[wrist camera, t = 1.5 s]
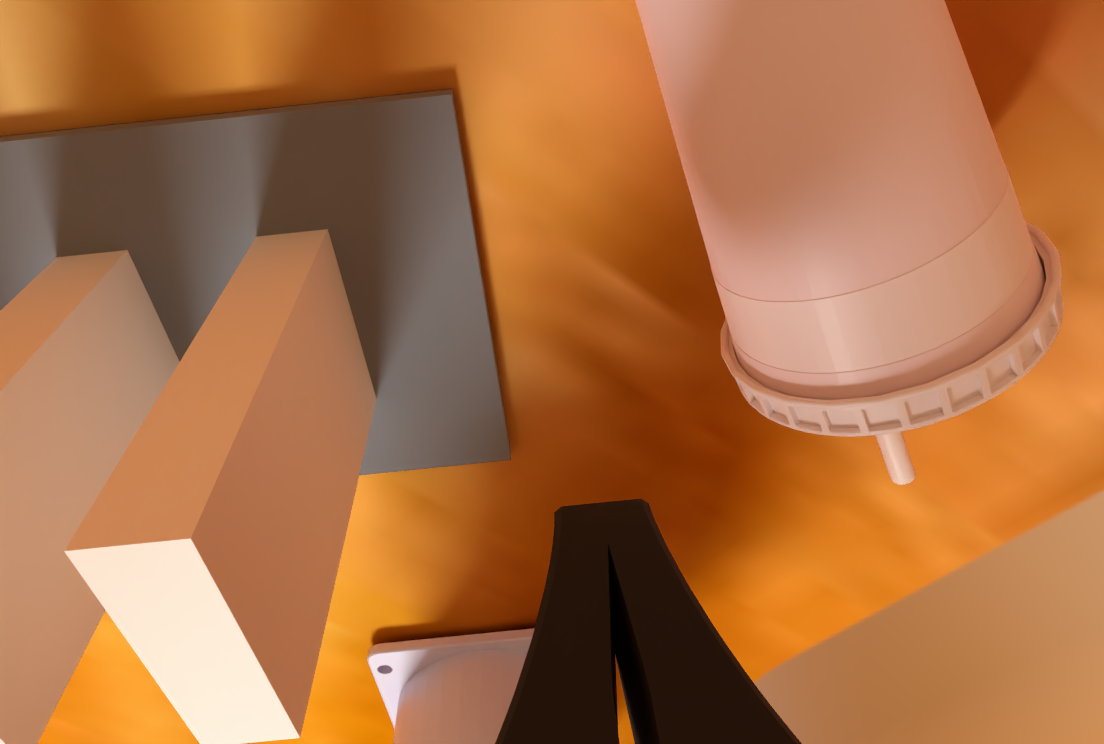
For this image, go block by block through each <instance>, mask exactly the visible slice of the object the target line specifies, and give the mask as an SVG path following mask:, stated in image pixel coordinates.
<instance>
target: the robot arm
mask: <svg viewBox="0 0 1104 744" xmlns="http://www.w3.org/2000/svg"><path fill="white" fill-rule="evenodd" d="M615 655H616V659H617V664H618V669H619V673H620V678H621V682H622V687H623V691H624V696H625V701H626V705H627V710H628V714H629V719H630V723H631V728H632V732H633V737H634V741H635V744H801V742H799V740H798V739H797V738H796V736H795V735H794V734H793V733H792V731H791V730H790V729H789V728H788V726H787V725H786V724H785V723H784V722H783V720H782V719H781V718H780V717H779V715H778V714H777V713H776V712H775V710H774V709H773V708H772V707H771V706H770V704H769V703H768V701H767V700H766V699H765V698H764V697H763V695H762V694H761V692H760V691H759V690H758V688H757V687H756V686H755V684H754V683H753V682H752V680H751V679H750V677H749V676H748V675H747V673H746V672H745V671H744V669H743V668H742V666H741V665H740V664H739V662H738V661H737V659H736V658H735V656H734V655H733V654H732V652H731V651H730V649H729V648H728V647H727V645H726V644H725V642H724V641H723V639H722V638H721V636H720V635H719V633H718V632H717V630H716V629H715V627H714V626H713V624H712V623H711V621H710V619H709V618H708V616H707V615H706V613H705V611H704V610H703V608H702V607H701V605H700V603H699V602H698V600H697V599H696V597H695V595H694V594H693V592H692V591H691V589H690V587H689V586H688V584H687V582H686V580H685V579H684V577H683V575H682V573H681V572H680V570H679V568H678V566H677V564H676V562H675V561H674V559H673V557H672V555H671V553H670V551H669V549H668V547H667V545H666V543H665V541H664V539H663V537H662V535H661V533H660V531H659V529H658V527H657V524H656V522H655V520H654V517H653V515H652V512H651V510H650V507H649V504H648V503H647V502H645V501H644V500H642V499H634V500H624V501H614V502H604V503H594V504H584V505H574V506H564V507H561V508H560V509H558V510H557V511H556V512H555V527H554V538H553V547H552V554H551V560H550V565H549V570H548V575H547V581H546V585H545V590H544V594H543V598H542V602H541V605H540V609H539V613H538V617H537V621H536V625H535V628H531V629H521V630H511V631H501V632H491V633H481V634H471V635H460V636H450V637H440V638H430V639H420V640H410V641H400V642H390V643H380V644H376V645H374V646H372V647H371V648H370V649H369V651H368V657H367V660H368V664H369V666H370V669H371V671H372V674H373V676H374V679H375V681H376V684H377V686H378V689H379V691H380V694H381V696H382V699H383V701H384V704H385V706H386V709H387V711H388V714H389V716H390V719H391V721H392V724H393V726H394V729H395V731H394V740H393V744H619V737H618V719H617V692H616V665H615Z"/></svg>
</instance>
